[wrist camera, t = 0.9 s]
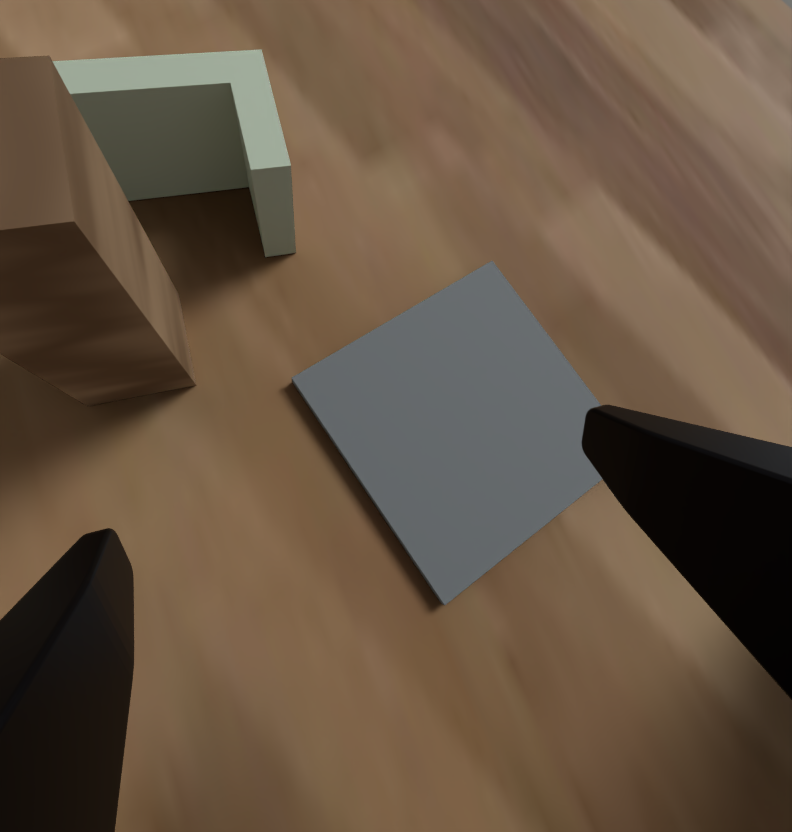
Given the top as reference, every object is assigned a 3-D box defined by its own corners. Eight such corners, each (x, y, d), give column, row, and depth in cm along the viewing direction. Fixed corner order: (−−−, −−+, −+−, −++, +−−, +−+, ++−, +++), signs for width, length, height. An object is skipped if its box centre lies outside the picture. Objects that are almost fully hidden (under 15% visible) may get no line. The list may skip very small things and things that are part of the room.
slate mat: (441, 603, 22) (444, 605, 21) (292, 381, 23) (291, 377, 23) (628, 454, 25) (636, 452, 24) (488, 266, 26) (492, 260, 26)
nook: (-77, 306, 21) (-221, 220, 16) (-86, 196, 22) (-223, 77, 17) (295, 252, 25) (290, 165, 19) (272, 159, 26) (261, 49, 20)
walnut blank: (87, 406, 21) (-172, 250, 10) (74, 311, 22) (-179, 67, 11) (196, 385, 22) (74, 221, 11) (179, 295, 23) (49, 55, 12)
